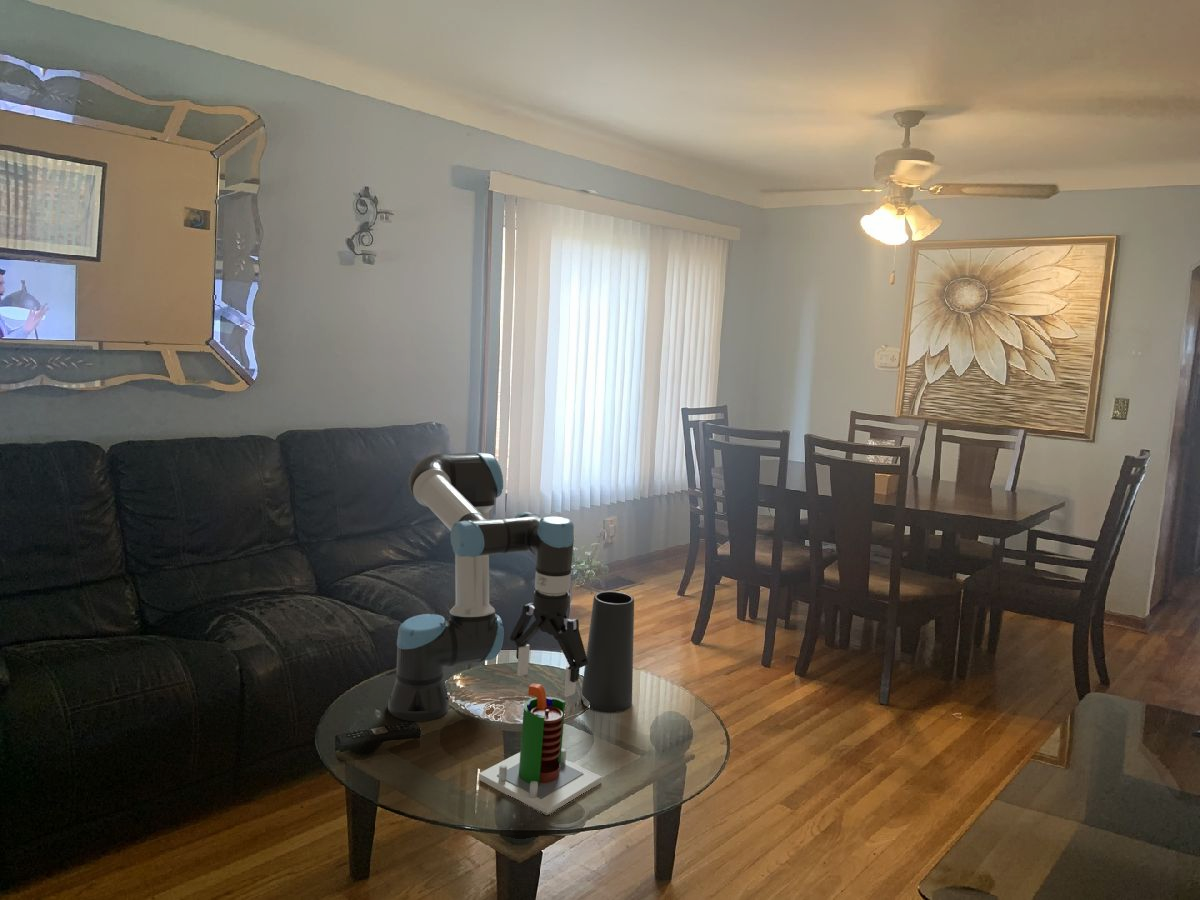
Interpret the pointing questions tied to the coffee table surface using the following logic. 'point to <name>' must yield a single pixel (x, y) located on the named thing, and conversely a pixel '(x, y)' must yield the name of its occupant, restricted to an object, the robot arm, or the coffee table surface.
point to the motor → (541, 737)
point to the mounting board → (546, 794)
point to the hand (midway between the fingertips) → (545, 684)
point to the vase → (610, 653)
